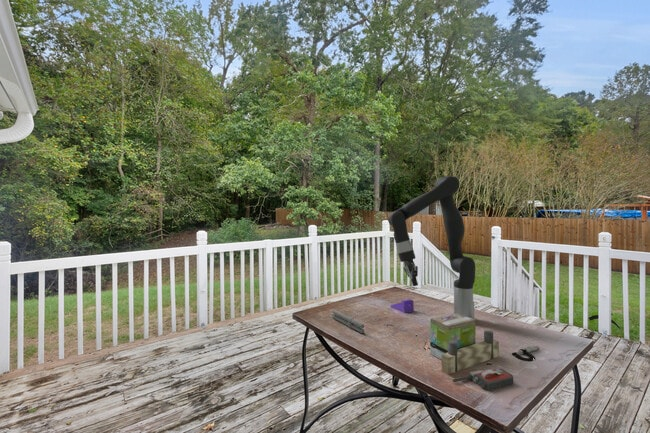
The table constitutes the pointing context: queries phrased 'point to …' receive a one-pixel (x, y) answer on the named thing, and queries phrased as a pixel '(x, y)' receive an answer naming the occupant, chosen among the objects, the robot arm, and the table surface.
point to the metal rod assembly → (348, 321)
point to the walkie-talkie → (489, 378)
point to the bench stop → (469, 354)
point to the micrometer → (526, 353)
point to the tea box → (451, 333)
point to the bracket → (404, 306)
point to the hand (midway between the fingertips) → (415, 285)
